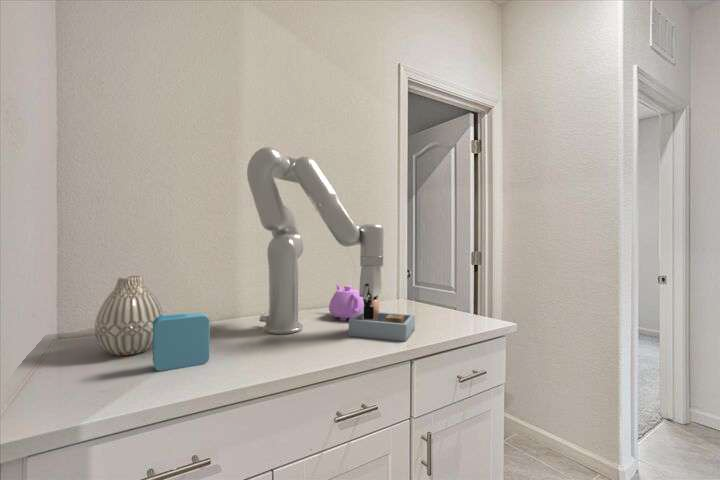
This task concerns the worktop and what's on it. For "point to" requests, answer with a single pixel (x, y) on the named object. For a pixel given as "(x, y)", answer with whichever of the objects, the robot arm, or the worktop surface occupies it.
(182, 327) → the data package
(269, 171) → the robot arm
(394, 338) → the tote
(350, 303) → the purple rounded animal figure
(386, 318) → the wood cube
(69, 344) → the worktop surface
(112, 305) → the vase
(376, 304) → the terracotta canister
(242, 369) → the worktop surface
